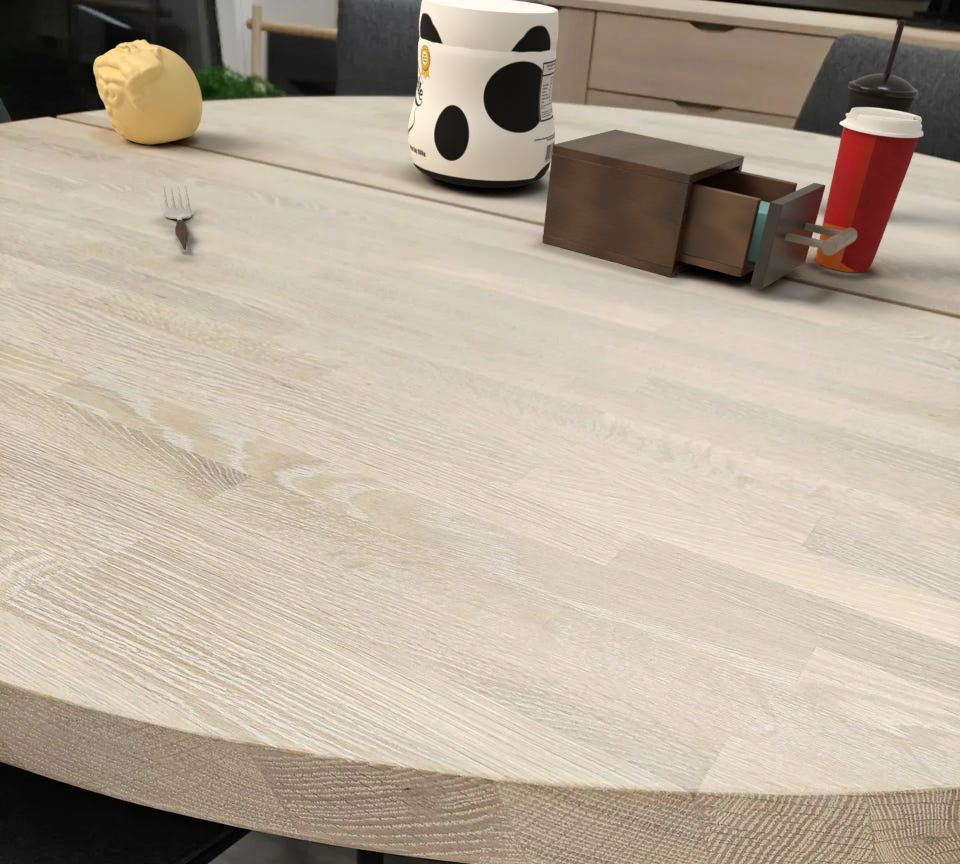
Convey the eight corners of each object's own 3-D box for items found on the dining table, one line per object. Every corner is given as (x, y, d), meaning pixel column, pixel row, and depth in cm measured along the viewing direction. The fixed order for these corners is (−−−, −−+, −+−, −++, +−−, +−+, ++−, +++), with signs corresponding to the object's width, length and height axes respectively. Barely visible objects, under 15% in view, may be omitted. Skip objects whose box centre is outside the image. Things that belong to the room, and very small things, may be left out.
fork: (170, 255, 89) (167, 232, 88) (163, 207, 101) (161, 186, 100) (200, 255, 90) (198, 232, 88) (190, 207, 102) (188, 186, 100)
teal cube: (731, 243, 99) (742, 196, 96) (773, 253, 97) (785, 206, 94) (713, 252, 96) (723, 203, 93) (756, 263, 94) (768, 214, 91)
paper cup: (884, 262, 105) (931, 114, 96) (875, 281, 99) (924, 125, 90) (810, 247, 107) (849, 102, 98) (797, 265, 101) (837, 112, 93)
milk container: (388, 163, 124) (391, -9, 113) (516, 162, 129) (531, -2, 118) (434, 200, 111) (442, 10, 100) (573, 197, 117) (595, 17, 106)
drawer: (853, 275, 97) (876, 195, 92) (813, 302, 89) (837, 217, 85) (682, 233, 104) (696, 157, 100) (632, 254, 97) (645, 174, 92)
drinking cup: (813, 215, 119) (865, 19, 106) (817, 201, 124) (867, 14, 112) (879, 225, 117) (940, 27, 105) (880, 210, 123) (937, 22, 111)
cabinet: (724, 251, 103) (744, 156, 98) (671, 277, 95) (690, 174, 89) (602, 220, 110) (615, 129, 104) (542, 242, 101) (552, 144, 95)
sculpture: (88, 133, 124) (73, 33, 117) (176, 127, 131) (166, 31, 124) (132, 153, 118) (119, 48, 111) (222, 145, 124) (214, 46, 118)
